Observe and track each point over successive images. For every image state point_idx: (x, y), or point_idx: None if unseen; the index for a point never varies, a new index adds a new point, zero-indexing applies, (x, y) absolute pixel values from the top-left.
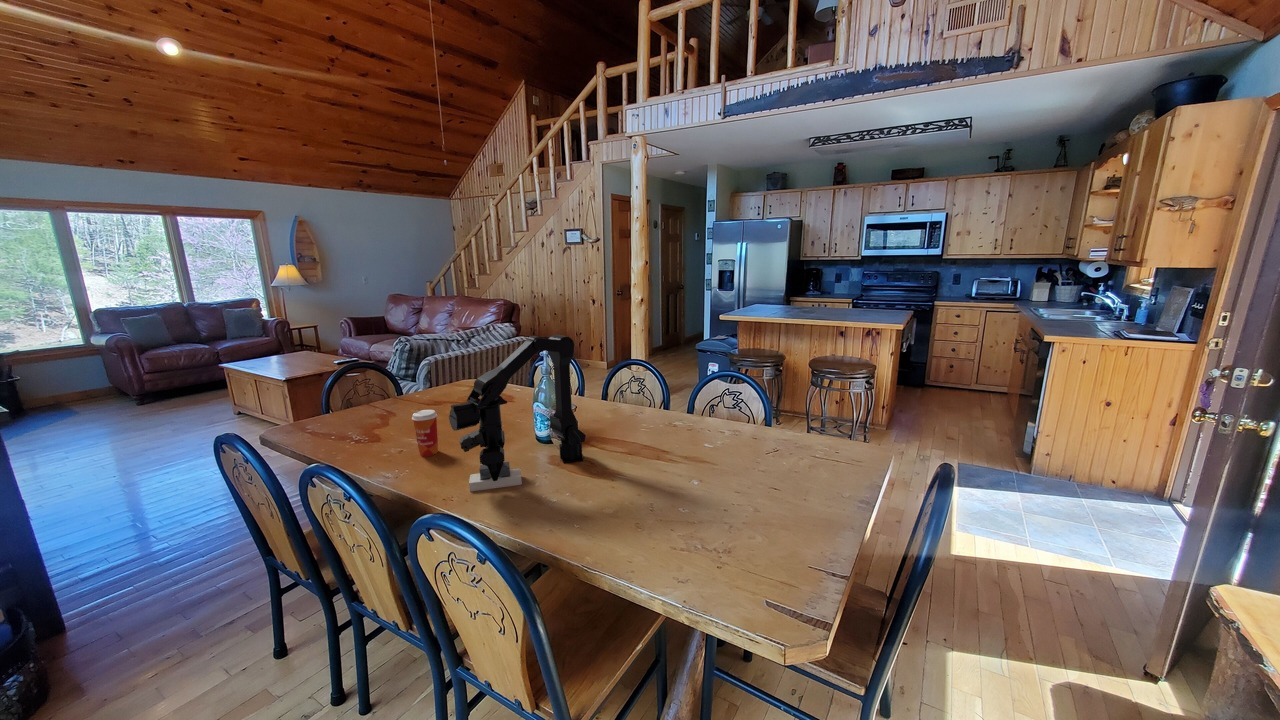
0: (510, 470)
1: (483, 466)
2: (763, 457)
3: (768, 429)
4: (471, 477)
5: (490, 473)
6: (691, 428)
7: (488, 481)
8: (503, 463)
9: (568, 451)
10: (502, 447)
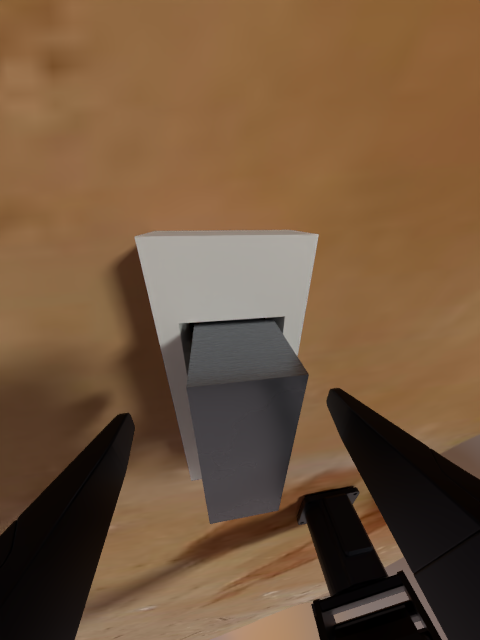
0: None
1: (258, 407)
2: (210, 619)
3: (287, 607)
4: (253, 250)
5: (40, 495)
6: None
7: (168, 367)
8: (261, 498)
9: (322, 546)
10: (437, 610)
